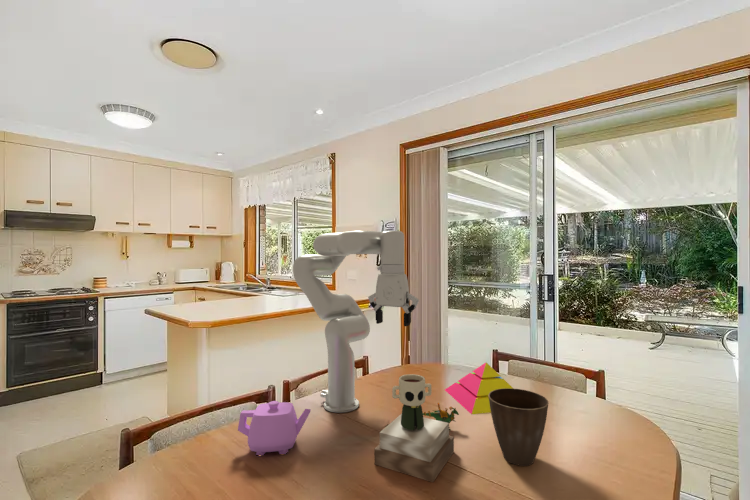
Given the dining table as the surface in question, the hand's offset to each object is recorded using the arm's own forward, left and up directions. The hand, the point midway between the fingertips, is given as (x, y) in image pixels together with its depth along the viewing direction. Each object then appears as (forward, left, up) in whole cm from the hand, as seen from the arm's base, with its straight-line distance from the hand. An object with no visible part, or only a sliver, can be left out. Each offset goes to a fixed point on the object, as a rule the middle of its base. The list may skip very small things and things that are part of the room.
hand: (392, 324), depth 119 cm
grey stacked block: (+13, -13, -32) cm, 37 cm away
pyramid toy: (+20, +38, -33) cm, 54 cm away
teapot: (-24, -27, -33) cm, 49 cm away
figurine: (+13, +6, -32) cm, 36 cm away
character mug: (+12, -13, -24) cm, 30 cm away
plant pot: (+37, 0, -32) cm, 49 cm away
